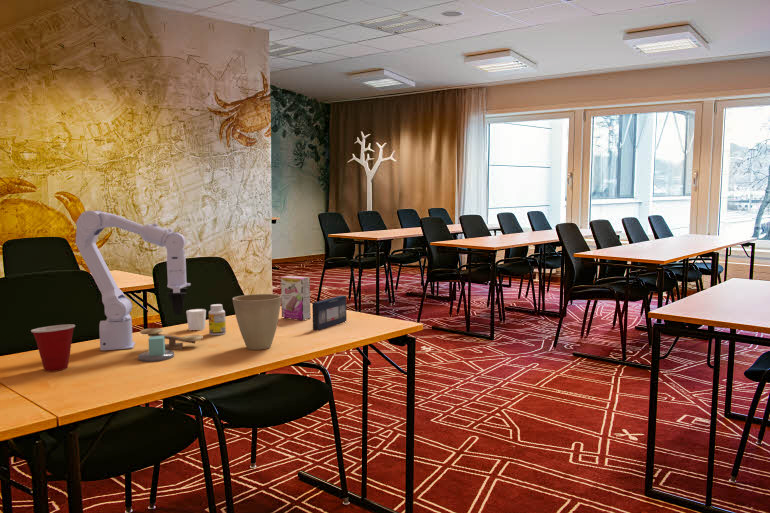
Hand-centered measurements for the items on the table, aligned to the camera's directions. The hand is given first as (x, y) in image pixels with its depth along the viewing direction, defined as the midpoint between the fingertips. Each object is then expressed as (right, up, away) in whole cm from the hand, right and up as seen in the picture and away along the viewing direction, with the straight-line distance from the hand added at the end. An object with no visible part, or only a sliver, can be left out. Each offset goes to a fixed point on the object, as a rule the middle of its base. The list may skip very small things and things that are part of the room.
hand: (178, 312), depth 198 cm
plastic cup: (-25, -13, -27) cm, 39 cm away
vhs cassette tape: (+46, -8, +28) cm, 55 cm away
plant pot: (+27, -11, -5) cm, 29 cm away
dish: (-1, -12, -16) cm, 20 cm away
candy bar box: (+32, -7, +42) cm, 53 cm away
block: (-1, -11, -16) cm, 19 cm away
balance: (0, -11, -4) cm, 12 cm away
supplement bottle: (+8, -9, +16) cm, 20 cm away
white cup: (-2, -9, +24) cm, 26 cm away
